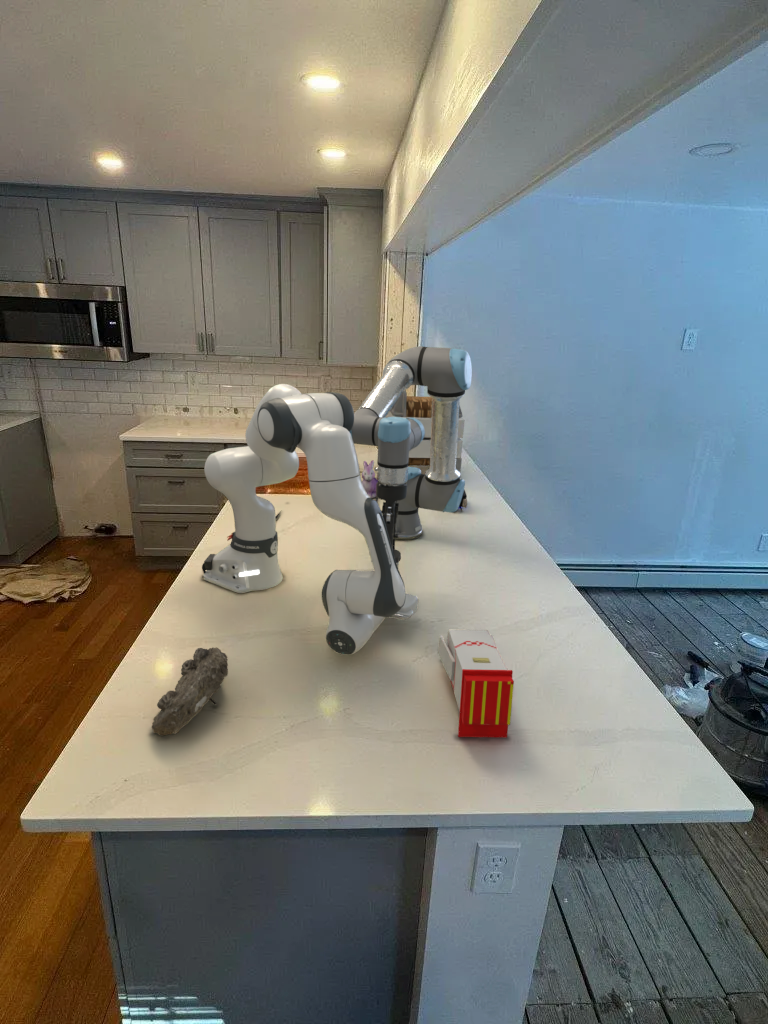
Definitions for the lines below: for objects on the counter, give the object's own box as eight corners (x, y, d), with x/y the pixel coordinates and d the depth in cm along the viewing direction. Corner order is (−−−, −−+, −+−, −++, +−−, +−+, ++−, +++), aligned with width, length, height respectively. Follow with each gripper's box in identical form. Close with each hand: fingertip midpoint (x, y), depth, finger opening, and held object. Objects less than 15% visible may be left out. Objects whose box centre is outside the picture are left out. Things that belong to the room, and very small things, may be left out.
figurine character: (467, 516, 223) (461, 500, 237) (469, 499, 220) (463, 483, 233) (450, 516, 223) (446, 499, 236) (452, 498, 220) (447, 483, 233)
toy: (488, 613, 130) (523, 677, 101) (484, 667, 133) (517, 744, 104) (435, 612, 130) (455, 676, 101) (432, 666, 133) (451, 743, 103)
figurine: (365, 500, 232) (366, 464, 227) (354, 493, 241) (355, 458, 236) (385, 497, 237) (387, 463, 231) (374, 490, 245) (375, 457, 240)
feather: (288, 505, 226) (290, 501, 226) (271, 529, 199) (273, 524, 199) (284, 503, 226) (287, 499, 225) (266, 526, 199) (269, 522, 199)
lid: (387, 566, 141) (387, 560, 140) (370, 557, 145) (370, 552, 145) (406, 559, 145) (406, 554, 144) (388, 551, 149) (388, 546, 149)
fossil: (179, 649, 121) (229, 617, 116) (211, 678, 124) (260, 649, 119) (128, 729, 101) (185, 695, 96) (167, 762, 104) (224, 731, 99)
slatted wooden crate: (382, 463, 289) (386, 382, 275) (445, 464, 293) (451, 384, 279) (390, 482, 257) (394, 392, 243) (460, 483, 261) (468, 394, 247)
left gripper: (409, 607, 132) (426, 583, 144) (330, 590, 138) (352, 568, 151) (407, 631, 134) (424, 605, 146) (329, 612, 141) (352, 589, 153)
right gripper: (380, 470, 147) (376, 551, 155) (372, 492, 129) (368, 583, 137) (409, 472, 147) (404, 553, 155) (405, 495, 129) (399, 586, 136)
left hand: (387, 586), depth 149 cm, fingers closed on jar, 5 cm apart
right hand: (387, 567), depth 146 cm, fingers open, 6 cm apart
